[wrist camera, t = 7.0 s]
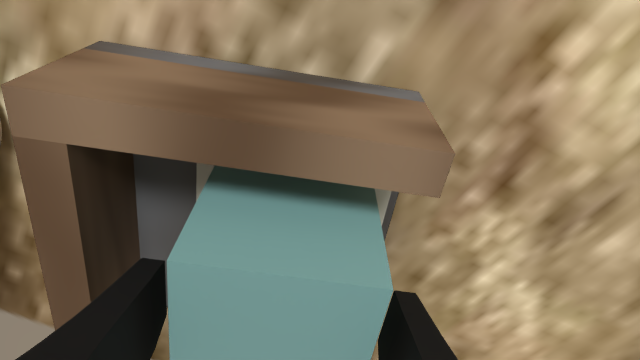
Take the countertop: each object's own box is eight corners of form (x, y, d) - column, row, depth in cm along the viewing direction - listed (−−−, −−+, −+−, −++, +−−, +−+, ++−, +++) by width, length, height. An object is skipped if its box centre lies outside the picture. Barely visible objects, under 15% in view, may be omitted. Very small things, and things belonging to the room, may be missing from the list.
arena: (418, 91, 14) (454, 153, 10) (357, 312, 18) (364, 413, 15) (100, 40, 13) (0, 85, 9) (123, 282, 18) (66, 379, 14)
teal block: (373, 179, 14) (393, 289, 9) (344, 291, 16) (351, 420, 12) (218, 157, 14) (166, 260, 9) (213, 274, 16) (171, 400, 12)
